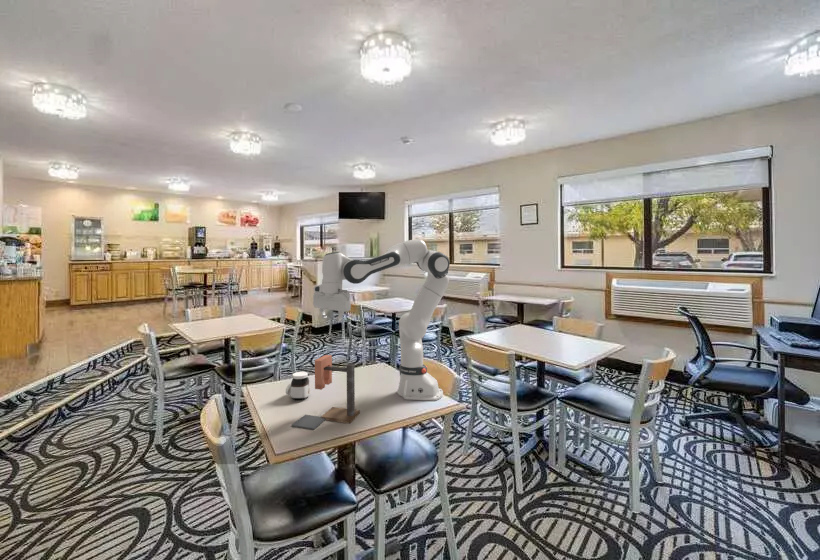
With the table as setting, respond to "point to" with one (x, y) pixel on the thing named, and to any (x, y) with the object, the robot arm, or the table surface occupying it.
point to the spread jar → (299, 386)
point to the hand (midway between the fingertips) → (331, 319)
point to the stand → (350, 412)
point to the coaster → (308, 422)
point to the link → (323, 371)
